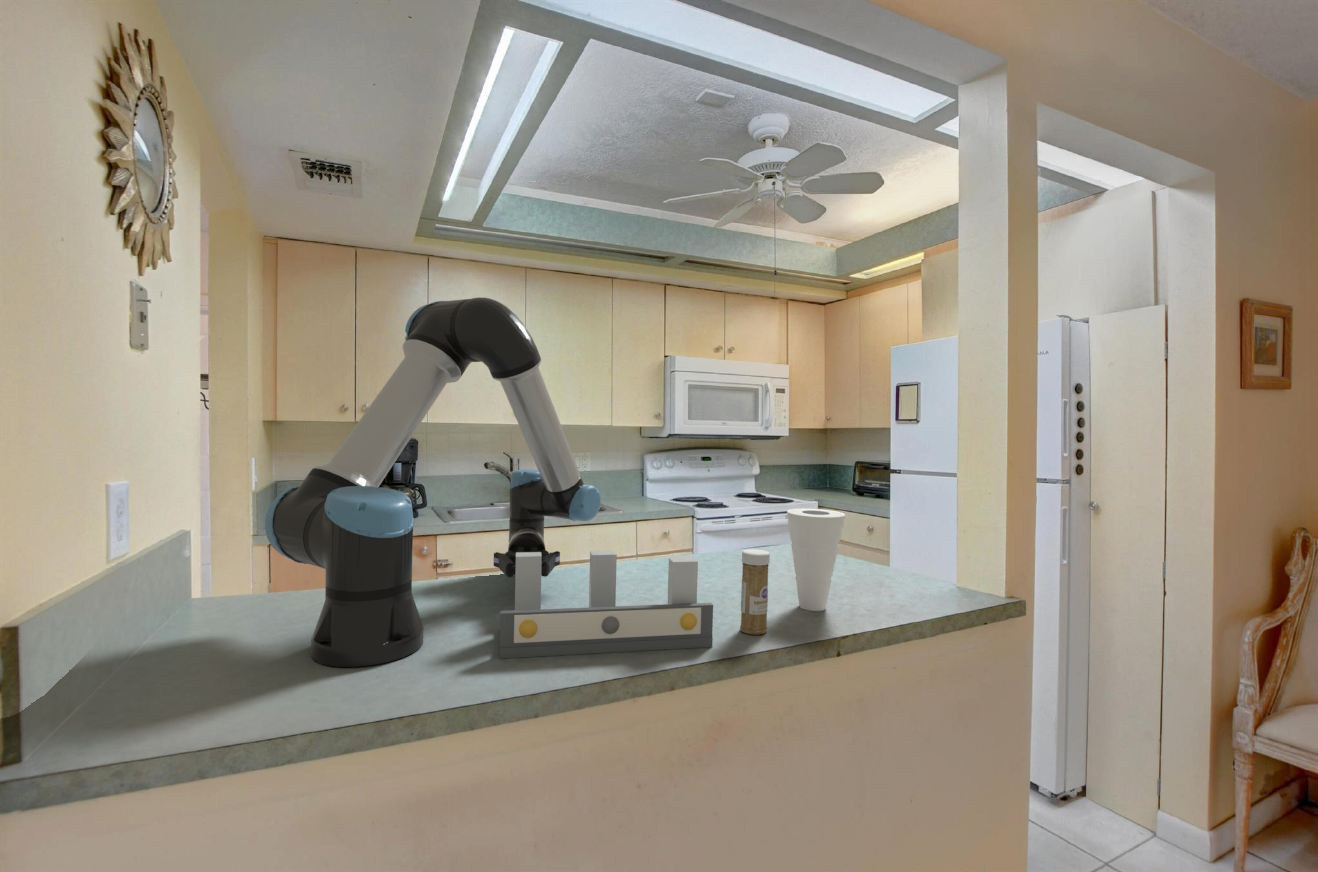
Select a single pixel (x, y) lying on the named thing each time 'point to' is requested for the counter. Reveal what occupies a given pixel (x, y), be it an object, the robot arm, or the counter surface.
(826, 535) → the cup
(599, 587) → the key mid
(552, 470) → the robot arm
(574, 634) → the key console
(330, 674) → the counter surface
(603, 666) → the counter surface
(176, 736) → the counter surface
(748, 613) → the sprinkles bottle
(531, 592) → the key near
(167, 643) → the counter surface
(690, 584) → the key far
